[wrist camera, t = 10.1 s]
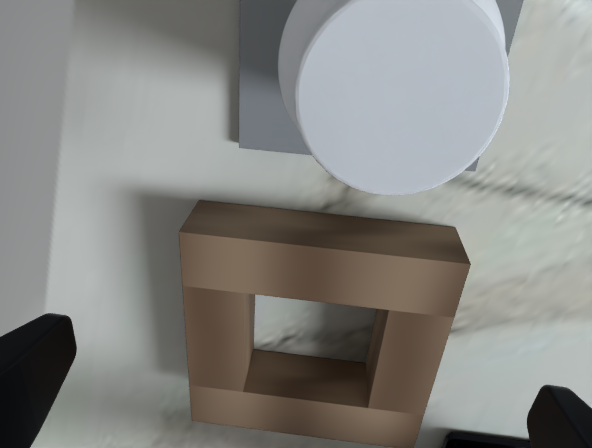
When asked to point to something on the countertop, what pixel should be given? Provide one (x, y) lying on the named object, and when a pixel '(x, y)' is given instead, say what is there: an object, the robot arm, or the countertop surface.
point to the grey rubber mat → (265, 81)
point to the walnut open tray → (321, 288)
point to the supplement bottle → (394, 87)
